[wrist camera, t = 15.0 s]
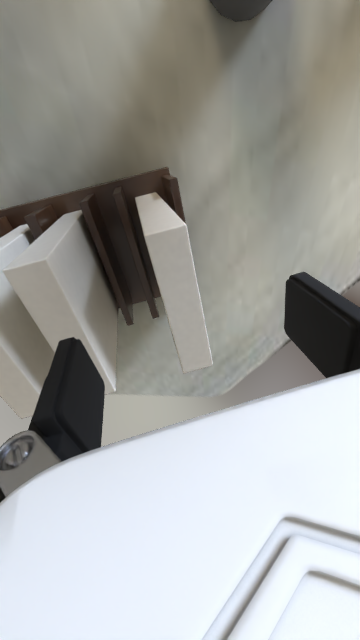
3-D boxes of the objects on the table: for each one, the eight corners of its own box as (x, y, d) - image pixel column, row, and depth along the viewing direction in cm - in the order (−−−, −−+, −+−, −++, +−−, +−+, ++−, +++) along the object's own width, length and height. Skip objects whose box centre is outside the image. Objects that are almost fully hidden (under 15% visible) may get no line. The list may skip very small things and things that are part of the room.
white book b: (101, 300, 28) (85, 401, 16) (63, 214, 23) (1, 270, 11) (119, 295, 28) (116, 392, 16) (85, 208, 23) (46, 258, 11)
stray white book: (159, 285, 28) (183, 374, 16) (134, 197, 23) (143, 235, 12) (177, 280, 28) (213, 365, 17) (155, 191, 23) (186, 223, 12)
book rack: (-66, 354, 29) (-134, 423, 21) (-168, 252, 22) (-318, 300, 15) (191, 284, 30) (212, 325, 22) (166, 166, 23) (186, 170, 16)
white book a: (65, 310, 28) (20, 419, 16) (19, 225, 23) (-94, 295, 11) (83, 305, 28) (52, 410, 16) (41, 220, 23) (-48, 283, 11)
